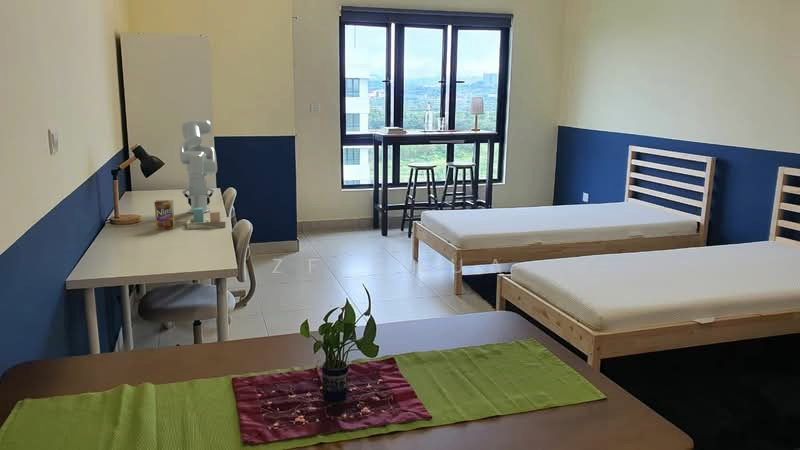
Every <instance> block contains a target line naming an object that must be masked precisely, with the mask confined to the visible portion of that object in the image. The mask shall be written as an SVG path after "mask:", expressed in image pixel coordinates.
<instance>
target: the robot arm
mask: <svg viewBox="0 0 800 450" xmlns="http://www.w3.org/2000/svg"><path fill="white" fill-rule="evenodd" d="M212 126H213V125H212V123H211V121H210V120H208V119H202V120H197V119H196V120H195V119H194V120H188V121H185V122H183V123H182V125H181V133H182V136H183V139H184V141H183V142H182V144H180V148H179V160H180V163H181V164H182V165H185V166H186V173H187V176H188V187H187V188H186V189H184V190H182V191H181V192H182V195H183V196H184V197H185V198H187V202H188V203H187V204H188V205H189V206H190V209H188V213H190V214H193V208H200V207H203V214H204V213H210V211H211V208H210V207H208V206H209V204H211V203H210V202H211V200H210V198H211V197H212V196H213V195H214V192H215V189H212V188H210V187H209V186H208V182H207V177H206V176H210V175H211V176H212V175H216V174H217V173H218V162H217V153H216V150H215V148H214V147H213V146H210V145H207V146H206V145H204V146H203V136H205V135H206V136H207V135H208V136H209V135H211V134H212V133H213V127H212ZM208 191H209V192H210V193H208ZM187 192H188V194H187Z"/></svg>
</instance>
